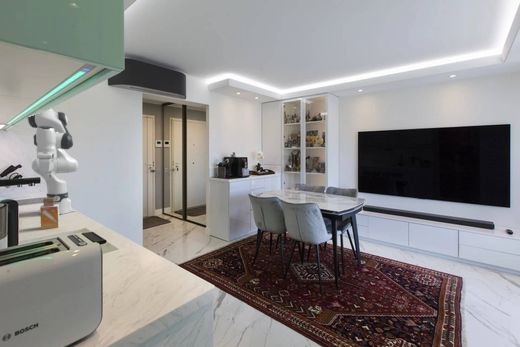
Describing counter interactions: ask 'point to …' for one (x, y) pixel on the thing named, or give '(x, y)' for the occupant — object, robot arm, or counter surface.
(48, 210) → the small box
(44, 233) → the counter surface
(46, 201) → the walnut cube
